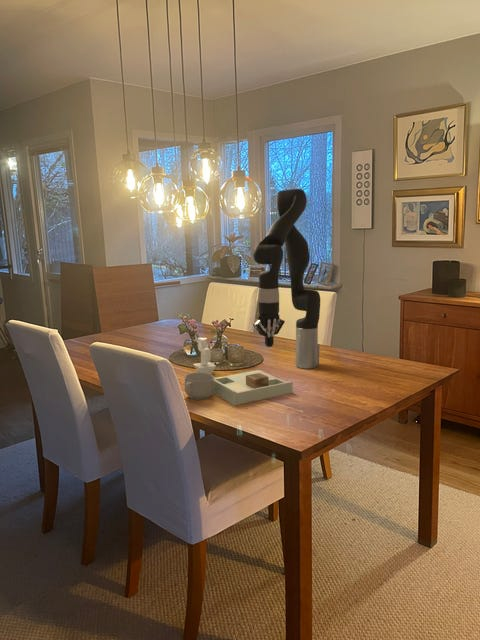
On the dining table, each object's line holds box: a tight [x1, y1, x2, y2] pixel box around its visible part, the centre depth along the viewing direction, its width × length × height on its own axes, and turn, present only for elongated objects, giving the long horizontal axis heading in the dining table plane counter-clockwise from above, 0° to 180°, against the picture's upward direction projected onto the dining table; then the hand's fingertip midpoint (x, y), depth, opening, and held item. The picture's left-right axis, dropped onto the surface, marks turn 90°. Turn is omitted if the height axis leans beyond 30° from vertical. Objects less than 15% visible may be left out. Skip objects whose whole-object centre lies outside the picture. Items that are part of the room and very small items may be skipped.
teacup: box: [184, 371, 216, 401], centre depth 192 cm, size 14×11×8 cm
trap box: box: [212, 369, 294, 406], centre depth 200 cm, size 25×24×5 cm
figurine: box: [193, 337, 217, 375], centre depth 221 cm, size 7×9×15 cm
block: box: [246, 373, 269, 389], centre depth 196 cm, size 6×6×4 cm
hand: (269, 346), depth 198 cm, fingers closed
